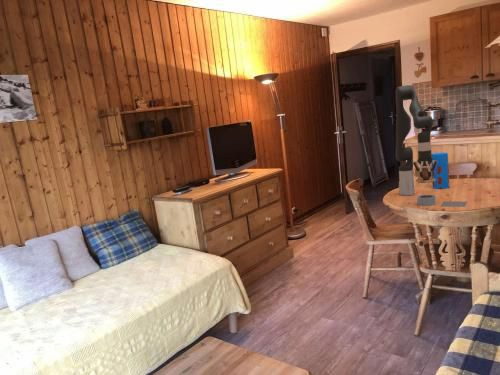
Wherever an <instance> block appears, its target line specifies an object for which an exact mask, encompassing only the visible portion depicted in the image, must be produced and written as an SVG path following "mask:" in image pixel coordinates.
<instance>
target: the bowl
mask: <svg viewBox="0 0 500 375" xmlns="http://www.w3.org/2000/svg"><path fill="white" fill-rule="evenodd" d="M416 197H417V198H416V201H417V205H418V206H422V207H423V206H424V207H425V206H434V205H436V204H437V200H436V198H437V197H436V195H434V194H421V195H418V196H416Z"/></svg>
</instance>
